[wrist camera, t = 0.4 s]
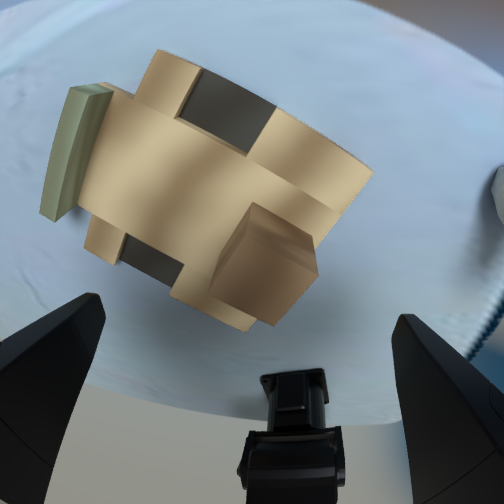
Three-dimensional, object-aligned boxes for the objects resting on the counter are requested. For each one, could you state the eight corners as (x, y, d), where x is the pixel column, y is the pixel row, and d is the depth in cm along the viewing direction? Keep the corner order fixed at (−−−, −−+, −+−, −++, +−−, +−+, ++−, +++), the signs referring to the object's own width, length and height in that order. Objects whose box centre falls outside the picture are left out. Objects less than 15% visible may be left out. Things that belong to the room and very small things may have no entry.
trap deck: (369, 167, 19) (388, 189, 15) (247, 322, 27) (241, 360, 23) (127, 36, 15) (93, 30, 12) (63, 224, 23) (35, 249, 19)
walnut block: (312, 235, 20) (318, 275, 17) (275, 282, 23) (273, 326, 19) (252, 201, 20) (245, 235, 16) (220, 253, 22) (206, 294, 18)
